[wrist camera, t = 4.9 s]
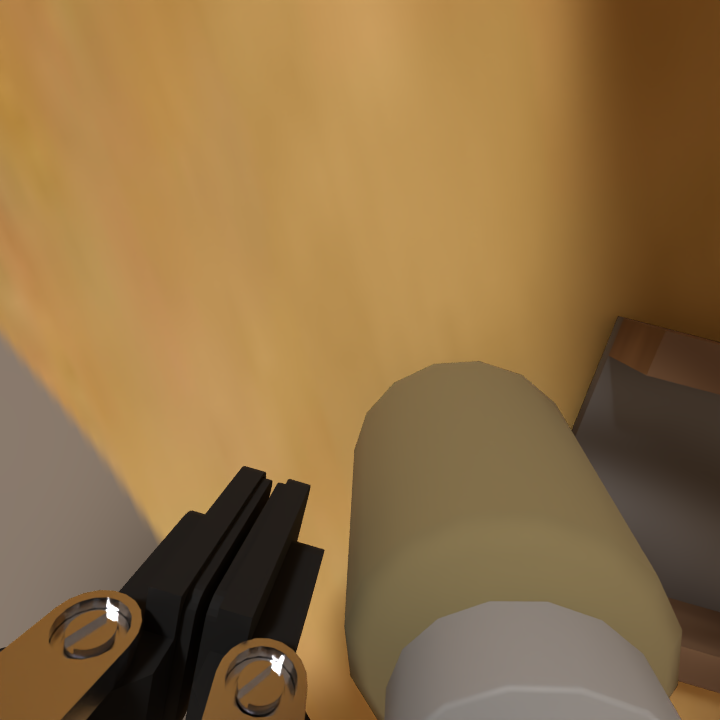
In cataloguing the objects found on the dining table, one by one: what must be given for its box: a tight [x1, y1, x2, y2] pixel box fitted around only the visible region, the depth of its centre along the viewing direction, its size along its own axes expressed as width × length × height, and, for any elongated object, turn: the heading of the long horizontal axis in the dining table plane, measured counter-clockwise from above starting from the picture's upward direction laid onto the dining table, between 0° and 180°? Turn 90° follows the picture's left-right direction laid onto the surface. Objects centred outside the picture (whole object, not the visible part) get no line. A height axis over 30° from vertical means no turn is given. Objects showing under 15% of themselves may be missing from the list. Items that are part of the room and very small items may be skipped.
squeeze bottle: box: [344, 361, 682, 720], centre depth 11 cm, size 8×8×18 cm
